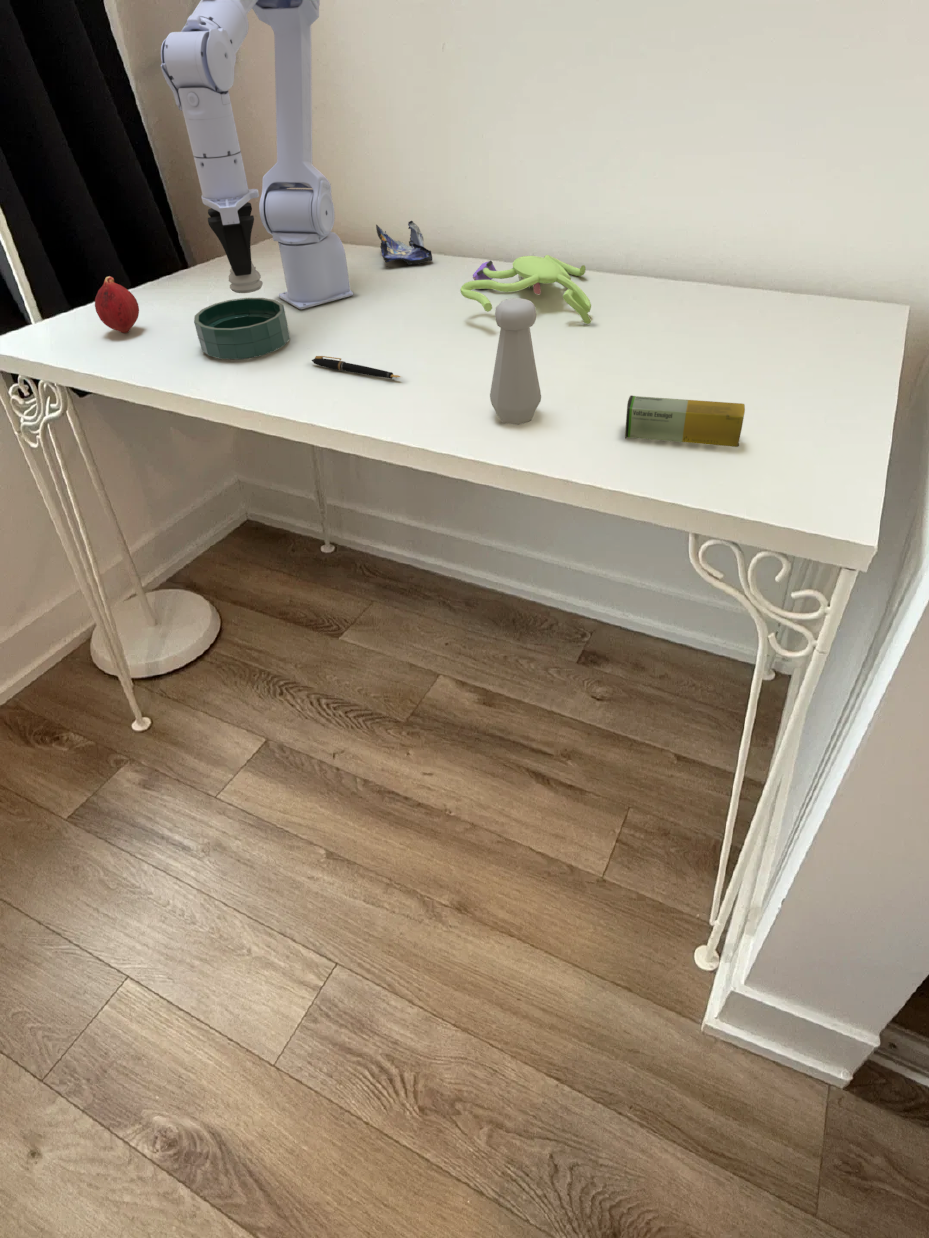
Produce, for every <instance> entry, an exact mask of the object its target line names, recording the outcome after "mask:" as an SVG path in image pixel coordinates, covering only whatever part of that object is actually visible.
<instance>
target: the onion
mask: <svg viewBox="0 0 929 1238" xmlns="http://www.w3.org/2000/svg"><path fill="white" fill-rule="evenodd" d="M94 308H95V312H96V313H97V314H96V315H97V316H98V318H99V320H100V321H101V322H102V323H103V324H104V325H105V326H107V327H108V328H110V329H111V330H114V331H116V332H118V333H122V334H128V333H129V332H130V331H131V329H132V328H133V326H134V325H135V324H136V322H137V321H138V319H139V315H140V306H139V303H138V300H137V299H136V297H135V295H134V294H133V293H132V292H131V291H130V290H128V289H127V288H126V287H125V286H123V285H121V284H120V283H119V284H118V283H116V282H115V279H114V277H113V276H110V275H109V276H106V277H105V279H104V281H103V284H102V286H101V287H99V289H98V290H97V293H96V296H95V298H94Z"/></svg>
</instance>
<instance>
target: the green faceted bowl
mask: <svg viewBox="0 0 929 1238" xmlns="http://www.w3.org/2000/svg"><path fill="white" fill-rule="evenodd" d="M193 323H194V327H195V331H196V334H197V338H198V342H199V345H200V350H201V351H202V352H203V353H204V354H206V356H209V357H212V358H217V359H220V360H246V359H253V358H257V357H258V358H259V357H262V356H265V355H267V354H270V353H274V352H275V351H277V350H279V349H281V348H283V347H284V346H286V344H287V343H288V342H289V341H290V340H291V335H290V331H289V326H288V320H287V314H286V310H285V305H284V304H283V303H281V302H280V301H278V300H276V299H271V298H266V297H241V298H232V299H228V300H227V299H226V300H224V301H220V302H216V303H213V304H210V305H208V306H206V307H203V308H202V309H201V310H199V311H198V312H197V313H196V314H195V315H194V318H193Z"/></svg>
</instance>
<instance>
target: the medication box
mask: <svg viewBox="0 0 929 1238" xmlns="http://www.w3.org/2000/svg"><path fill="white" fill-rule="evenodd" d="M745 411H746V406H745V403H742V402H741V403H740V402H724V401H713V400H699V399H697V400H696V399H684V398H683V399H681V398H669V397H668V398H667V397H652V396H639V395H629V397H628V399H627V405H626V417H625V428H624V439H627V438H630V439H639V440H650V441H651V440H652V441H663V442H675V443H676V442H677V443H686V444H699V445H708V446H709V445H710V446H721V447H731V448H732V447H733V448H739V447H740V439H741V434H742V431H743V423H744V419H745V413H746V412H745Z"/></svg>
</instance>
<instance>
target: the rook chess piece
mask: <svg viewBox="0 0 929 1238" xmlns="http://www.w3.org/2000/svg"><path fill="white" fill-rule="evenodd" d="M251 265H252V269H251V274H249V275H241V276H235V274H234V272H233V270H232V268H231V267H230V270H229V275H228V282H229V283H230V285H229V289H230V290H231V291H232V292H233V293H235V294H250V293H254V292H257V291H259V290H261V288H262V286H263V284H264V282H263V281H262V280H260V279H261V277H262V275H261V273H260V272H259V271H258V270H257V268H256V266H255V265H254V263H253V261H252V260H251Z"/></svg>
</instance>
